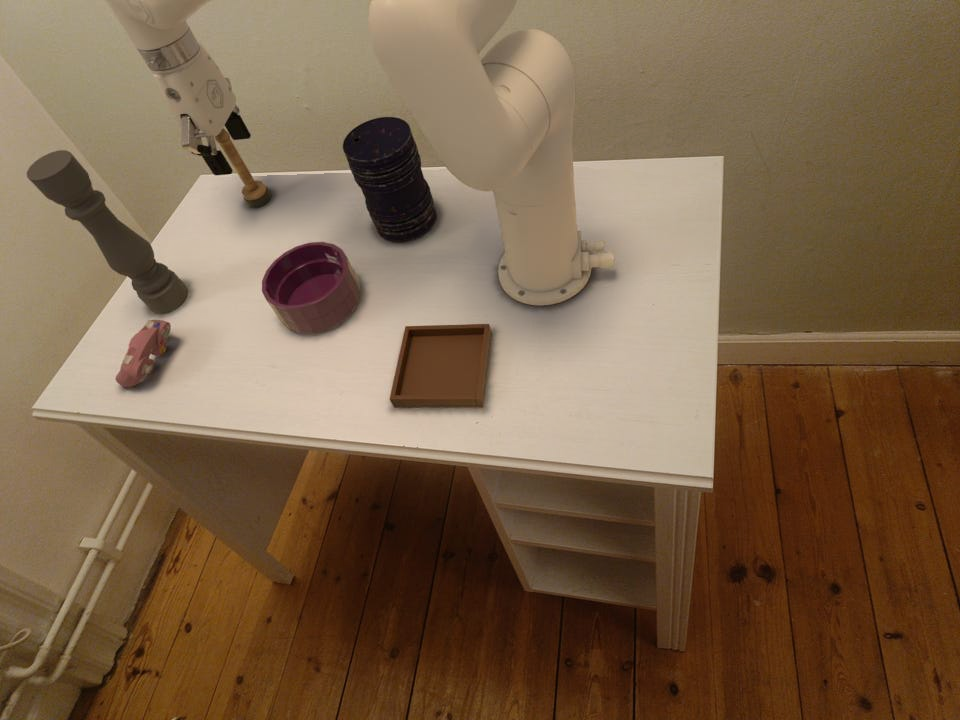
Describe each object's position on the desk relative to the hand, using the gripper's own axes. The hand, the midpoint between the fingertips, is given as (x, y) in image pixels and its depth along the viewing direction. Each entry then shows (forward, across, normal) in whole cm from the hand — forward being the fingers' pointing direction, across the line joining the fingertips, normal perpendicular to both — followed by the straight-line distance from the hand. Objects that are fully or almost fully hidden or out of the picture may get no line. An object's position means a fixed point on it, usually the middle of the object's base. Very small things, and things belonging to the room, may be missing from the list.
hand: (233, 155), depth 98 cm
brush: (+9, 0, 0) cm, 9 cm away
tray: (+9, -36, -38) cm, 53 cm away
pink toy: (+9, -34, +5) cm, 36 cm away
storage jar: (+9, -8, -28) cm, 31 cm away
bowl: (+9, -24, -18) cm, 31 cm away
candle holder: (+9, -22, +8) cm, 25 cm away
